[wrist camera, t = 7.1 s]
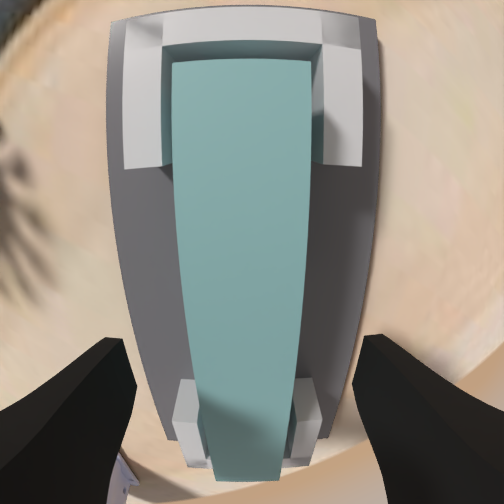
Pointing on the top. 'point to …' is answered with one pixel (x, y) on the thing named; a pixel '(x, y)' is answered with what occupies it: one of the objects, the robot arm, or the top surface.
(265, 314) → the teal rectangular block
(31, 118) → the top surface
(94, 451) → the robot arm
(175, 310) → the cradle
